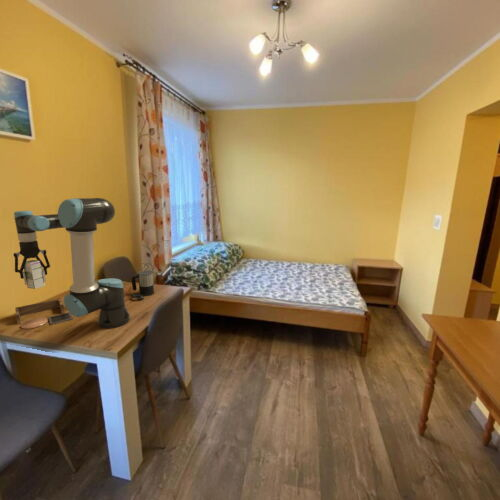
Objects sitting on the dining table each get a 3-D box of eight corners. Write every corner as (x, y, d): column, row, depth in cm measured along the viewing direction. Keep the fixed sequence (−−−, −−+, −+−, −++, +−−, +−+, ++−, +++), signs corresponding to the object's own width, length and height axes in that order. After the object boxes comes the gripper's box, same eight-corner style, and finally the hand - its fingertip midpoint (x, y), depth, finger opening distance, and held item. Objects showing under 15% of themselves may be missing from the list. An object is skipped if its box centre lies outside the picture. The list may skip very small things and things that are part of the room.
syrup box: (45, 285, 150) (41, 260, 147) (34, 289, 145) (30, 262, 141) (37, 284, 152) (33, 259, 148) (26, 288, 146) (21, 262, 143)
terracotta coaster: (48, 324, 141) (48, 323, 141) (21, 331, 134) (21, 330, 134) (46, 316, 149) (46, 315, 149) (20, 323, 142) (20, 322, 142)
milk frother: (154, 290, 189) (152, 269, 186) (156, 298, 175) (154, 276, 172) (131, 293, 183) (129, 272, 180) (132, 302, 169) (130, 279, 166)
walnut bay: (64, 312, 154) (63, 304, 153) (17, 324, 141) (15, 315, 140) (61, 306, 163) (60, 298, 162) (16, 316, 150) (15, 307, 149)
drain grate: (73, 319, 147) (73, 318, 146) (50, 325, 140) (50, 324, 140) (70, 312, 154) (69, 311, 154) (48, 318, 147) (48, 317, 147)
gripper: (51, 237, 152) (57, 276, 157) (2, 242, 139) (10, 284, 144) (52, 239, 146) (59, 280, 151) (1, 244, 133) (10, 288, 138)
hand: (35, 282), depth 147 cm, fingers closed on syrup box, 7 cm apart
